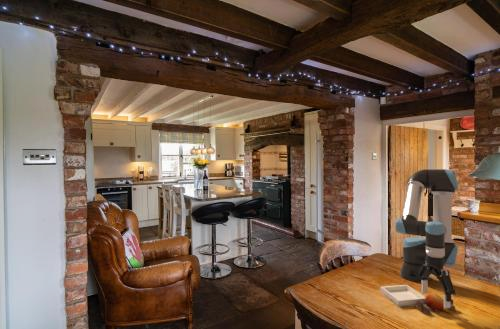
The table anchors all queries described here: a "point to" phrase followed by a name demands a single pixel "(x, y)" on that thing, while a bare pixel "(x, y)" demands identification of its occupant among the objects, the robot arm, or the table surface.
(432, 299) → the fruit
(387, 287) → the dish
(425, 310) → the block
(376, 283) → the table surface
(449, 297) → the robot arm
